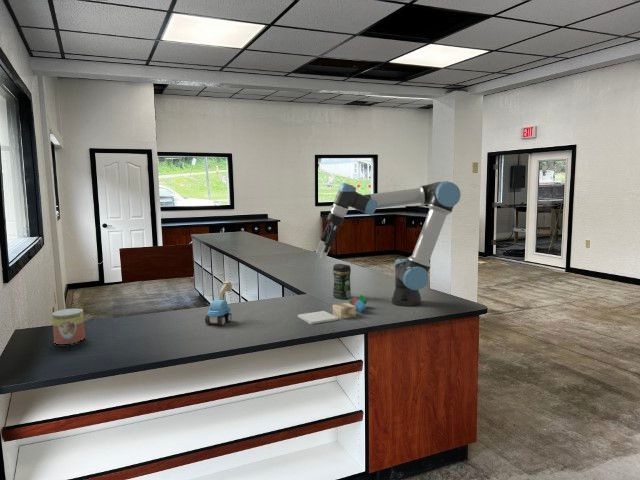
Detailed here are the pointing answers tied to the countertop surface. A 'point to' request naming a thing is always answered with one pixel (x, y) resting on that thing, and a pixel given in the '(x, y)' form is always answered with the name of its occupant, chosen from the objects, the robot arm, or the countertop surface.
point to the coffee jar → (341, 281)
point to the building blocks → (358, 303)
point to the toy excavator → (220, 308)
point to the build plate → (317, 317)
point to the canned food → (68, 325)
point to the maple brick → (344, 310)
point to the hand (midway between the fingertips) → (320, 256)
